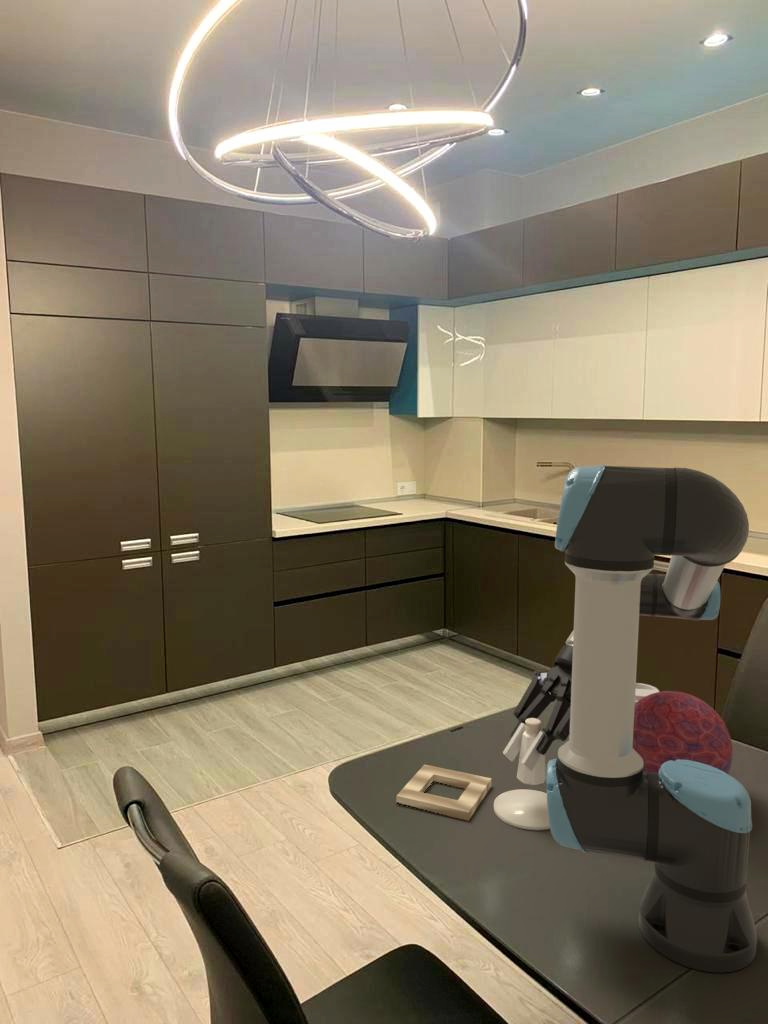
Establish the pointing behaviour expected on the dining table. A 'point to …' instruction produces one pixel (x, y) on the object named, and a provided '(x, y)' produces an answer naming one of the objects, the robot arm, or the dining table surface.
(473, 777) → the birch frame
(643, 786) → the robot arm
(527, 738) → the pepper shaker
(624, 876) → the dining table surface
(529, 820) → the white plate
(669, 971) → the dining table surface
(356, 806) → the dining table surface
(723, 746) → the decorative sphere
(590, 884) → the dining table surface
